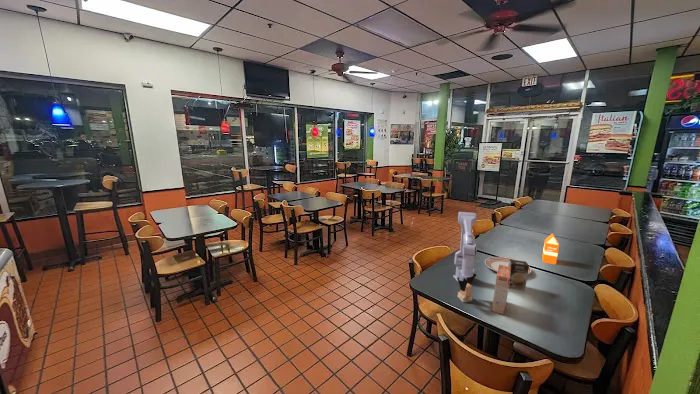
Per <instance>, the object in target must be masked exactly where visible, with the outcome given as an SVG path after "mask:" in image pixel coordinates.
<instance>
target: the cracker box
mask: <svg viewBox="0 0 700 394" xmlns="http://www.w3.org/2000/svg"><path fill="white" fill-rule="evenodd" d="M510 273H511V267H508V266H503V265H499V268H498V272H496V277H495V285H494V292H493V299H492V308H491V312H494V313H497V314H499V315H502V316H504V315H505V310H506V305H507V299H508V293H509V289H510V288H509V281H510Z"/></svg>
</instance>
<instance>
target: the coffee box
mask: <svg viewBox="0 0 700 394" xmlns="http://www.w3.org/2000/svg"><path fill="white" fill-rule="evenodd" d="M511 259H512V258H511ZM511 259H509V264H508V267H511V273H510V281H509V288H508V289H512V290H519V291H526V286H527V281H528V275H529V274H528V269H529V267H530V264H529V263H528V262H527V261H524V260H517V259H515V260H511Z"/></svg>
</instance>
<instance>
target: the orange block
mask: <svg viewBox="0 0 700 394" xmlns="http://www.w3.org/2000/svg"><path fill="white" fill-rule="evenodd" d="M472 290H473V285H470V284H469V283H467V285H466V289H465V291H461V290H460V289H459V292H460V294H462V295H463V296H464V297H467V296H472Z"/></svg>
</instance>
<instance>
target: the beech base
mask: <svg viewBox="0 0 700 394" xmlns="http://www.w3.org/2000/svg"><path fill="white" fill-rule="evenodd" d="M457 298H458V299H460V301H461V302H462V303H468V302H473V299H474V298H473V295H471V296H467V297H464V296H463V295H462V294H460V291H457Z"/></svg>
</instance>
